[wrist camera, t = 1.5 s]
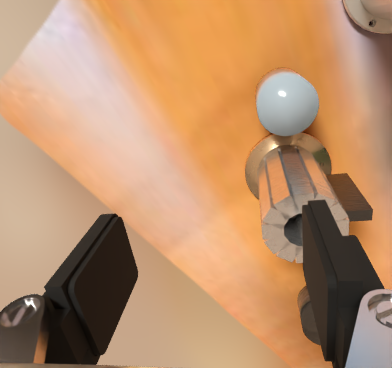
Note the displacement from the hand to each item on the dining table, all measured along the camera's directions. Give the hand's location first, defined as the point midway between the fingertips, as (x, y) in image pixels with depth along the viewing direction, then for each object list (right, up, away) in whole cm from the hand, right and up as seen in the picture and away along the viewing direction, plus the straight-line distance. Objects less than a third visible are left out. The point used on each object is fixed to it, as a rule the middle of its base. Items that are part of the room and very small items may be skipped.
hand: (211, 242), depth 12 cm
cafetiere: (+14, +4, +38) cm, 41 cm away
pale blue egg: (+11, +15, +33) cm, 38 cm away
